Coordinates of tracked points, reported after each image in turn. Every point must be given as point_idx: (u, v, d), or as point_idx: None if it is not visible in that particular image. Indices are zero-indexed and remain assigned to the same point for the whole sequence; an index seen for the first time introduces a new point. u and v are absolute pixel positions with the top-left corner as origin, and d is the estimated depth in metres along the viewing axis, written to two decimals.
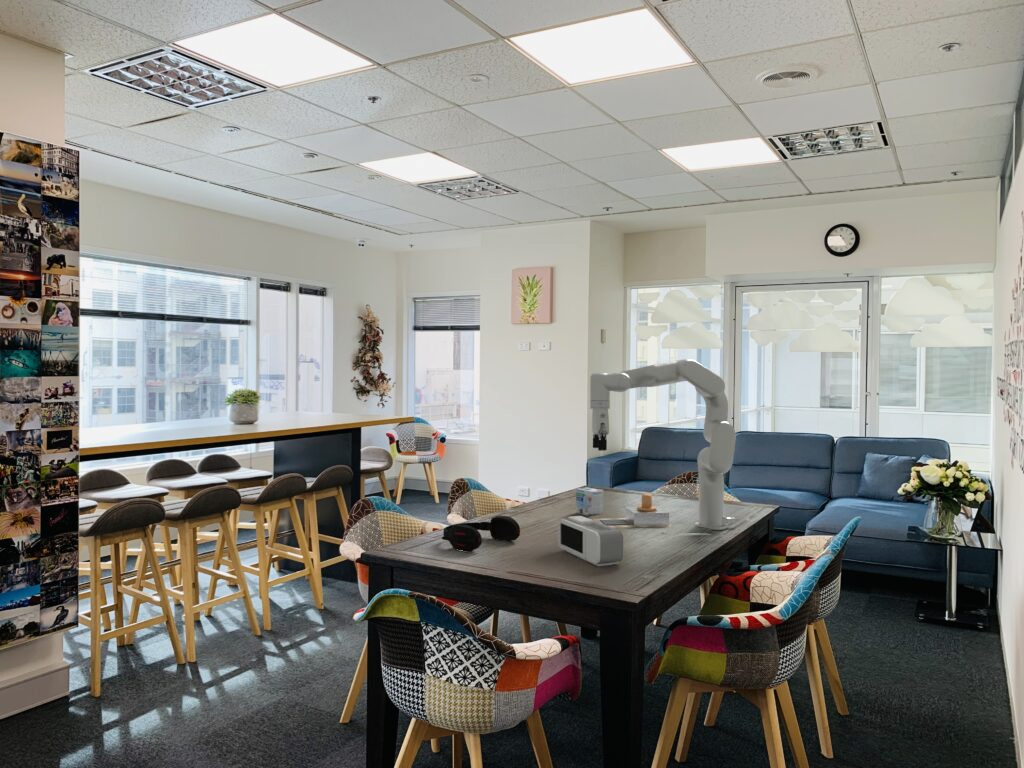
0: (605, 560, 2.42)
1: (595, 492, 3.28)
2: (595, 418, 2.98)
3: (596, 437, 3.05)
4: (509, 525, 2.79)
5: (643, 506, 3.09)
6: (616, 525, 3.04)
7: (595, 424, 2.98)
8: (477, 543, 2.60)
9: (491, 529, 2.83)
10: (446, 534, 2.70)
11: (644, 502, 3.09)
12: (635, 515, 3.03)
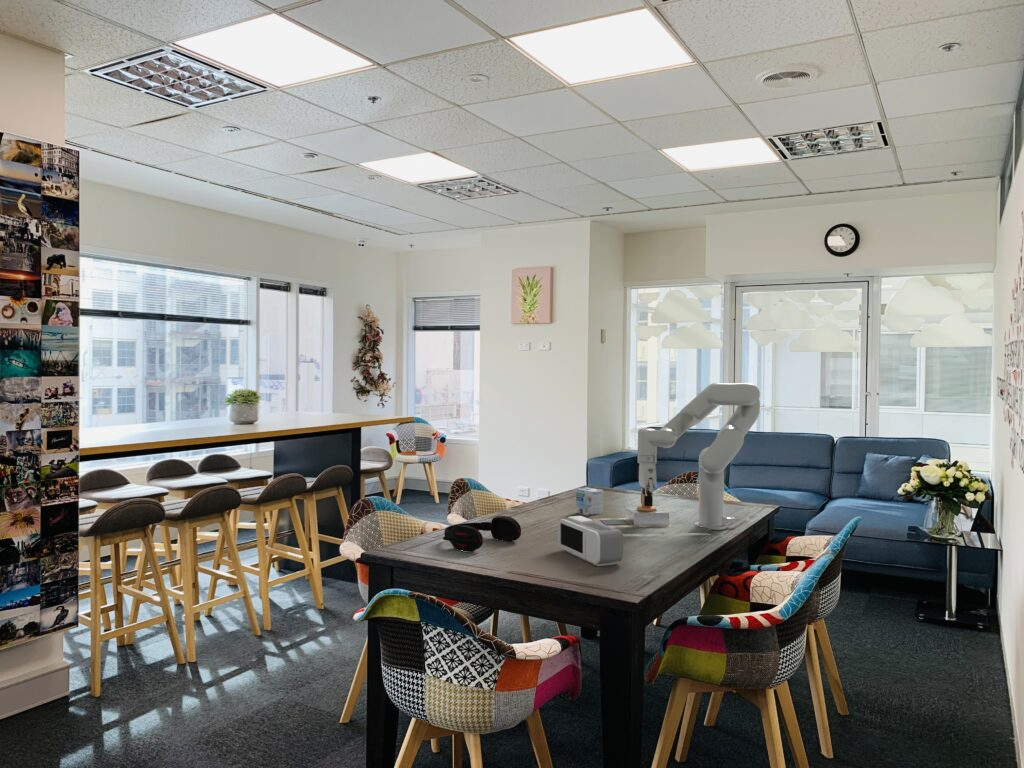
0: (605, 560, 2.43)
1: (595, 492, 3.28)
2: (643, 472, 3.07)
3: (644, 493, 3.12)
4: (510, 525, 2.79)
5: (643, 506, 3.09)
6: (616, 525, 3.04)
7: (643, 478, 3.07)
8: (478, 543, 2.60)
9: (492, 529, 2.83)
10: (447, 534, 2.69)
11: None
12: (635, 515, 3.03)
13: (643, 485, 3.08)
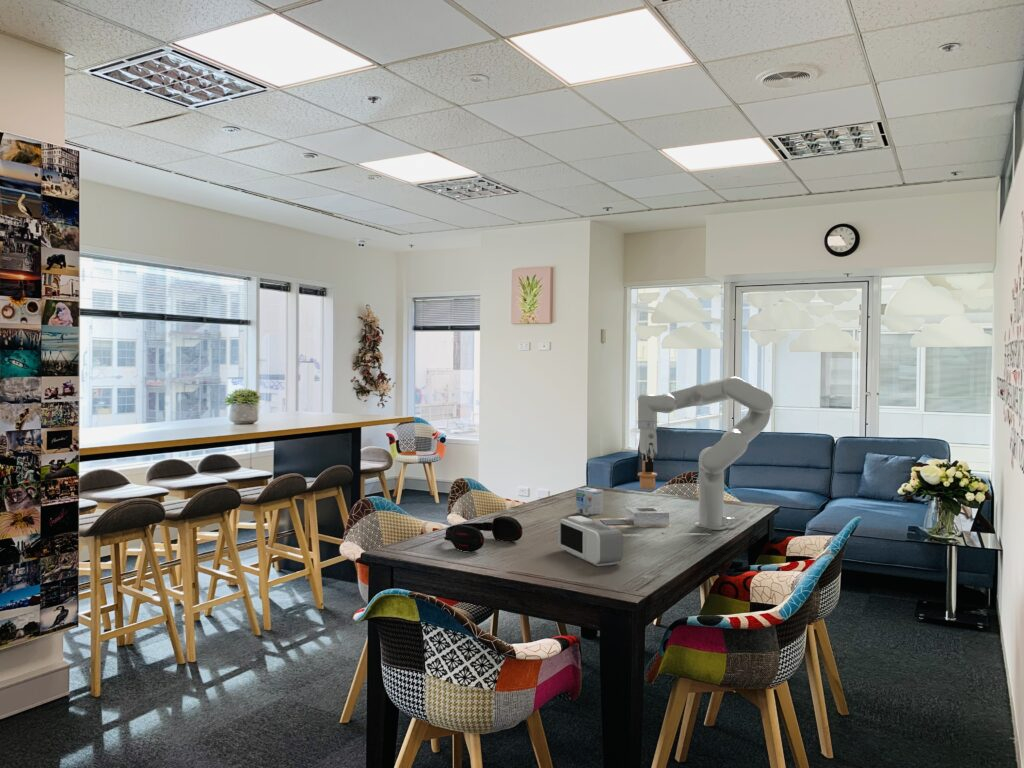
0: (605, 560, 2.43)
1: (595, 492, 3.28)
2: (643, 438, 3.07)
3: None
4: (511, 525, 2.78)
5: (644, 472, 3.09)
6: (616, 525, 3.04)
7: (643, 444, 3.07)
8: (479, 543, 2.60)
9: (494, 529, 2.83)
10: (448, 534, 2.69)
11: None
12: (635, 515, 3.03)
13: (644, 451, 3.07)
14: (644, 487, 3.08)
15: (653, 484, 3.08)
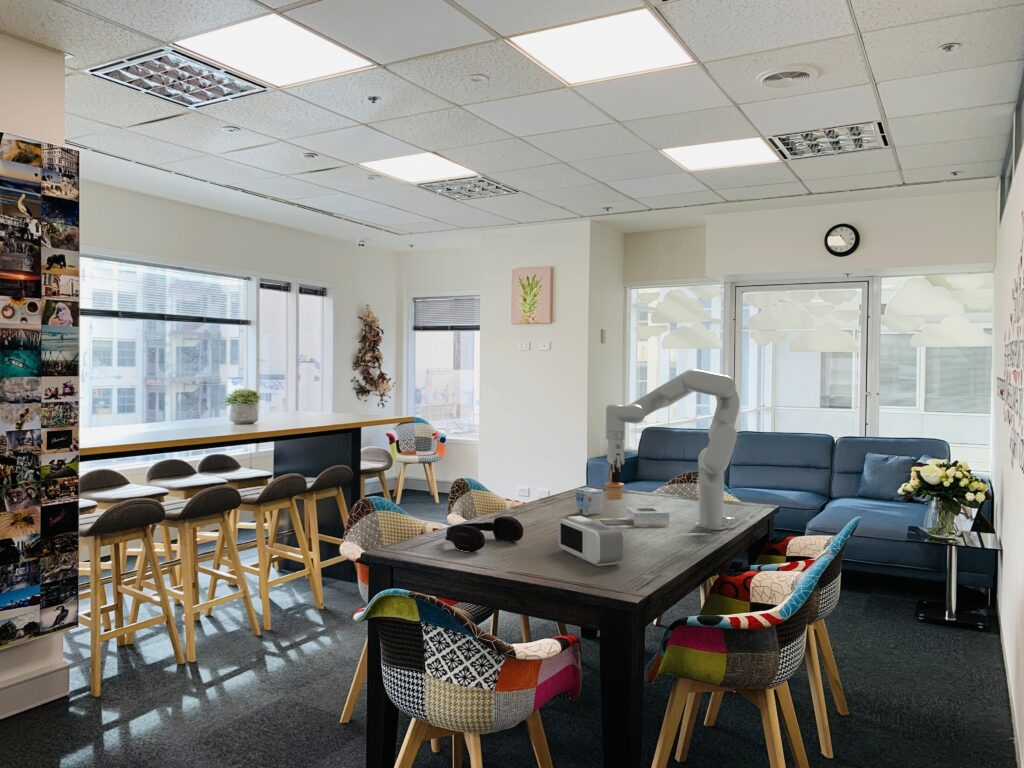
0: (605, 560, 2.43)
1: (595, 492, 3.28)
2: (611, 448, 3.06)
3: None
4: (512, 526, 2.78)
5: (611, 482, 3.08)
6: (616, 525, 3.04)
7: (610, 454, 3.06)
8: (480, 544, 2.59)
9: (494, 529, 2.82)
10: (449, 535, 2.69)
11: None
12: (635, 515, 3.03)
13: (611, 461, 3.06)
14: (611, 497, 3.07)
15: (620, 494, 3.07)
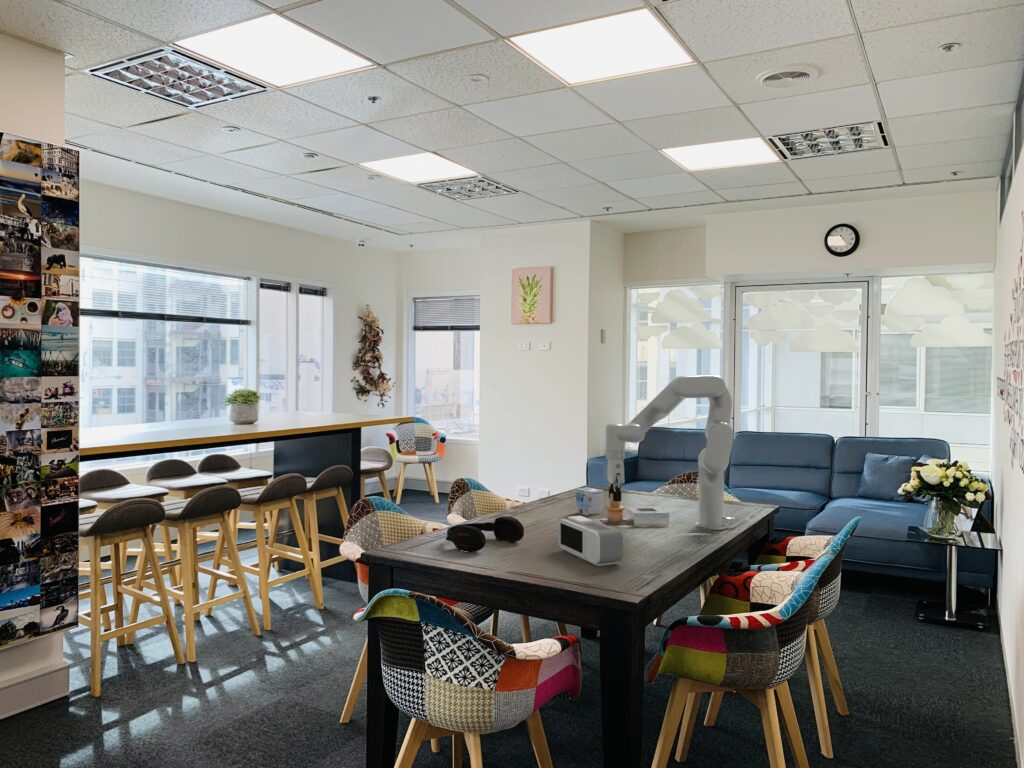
0: (605, 560, 2.43)
1: (595, 492, 3.28)
2: (611, 468, 3.06)
3: (612, 488, 3.12)
4: (513, 526, 2.78)
5: (611, 505, 3.08)
6: (616, 525, 3.04)
7: (611, 474, 3.06)
8: (481, 544, 2.59)
9: (495, 529, 2.82)
10: (450, 535, 2.69)
11: (612, 501, 3.08)
12: (635, 515, 3.03)
13: (611, 481, 3.06)
14: (611, 521, 3.07)
15: (620, 518, 3.07)
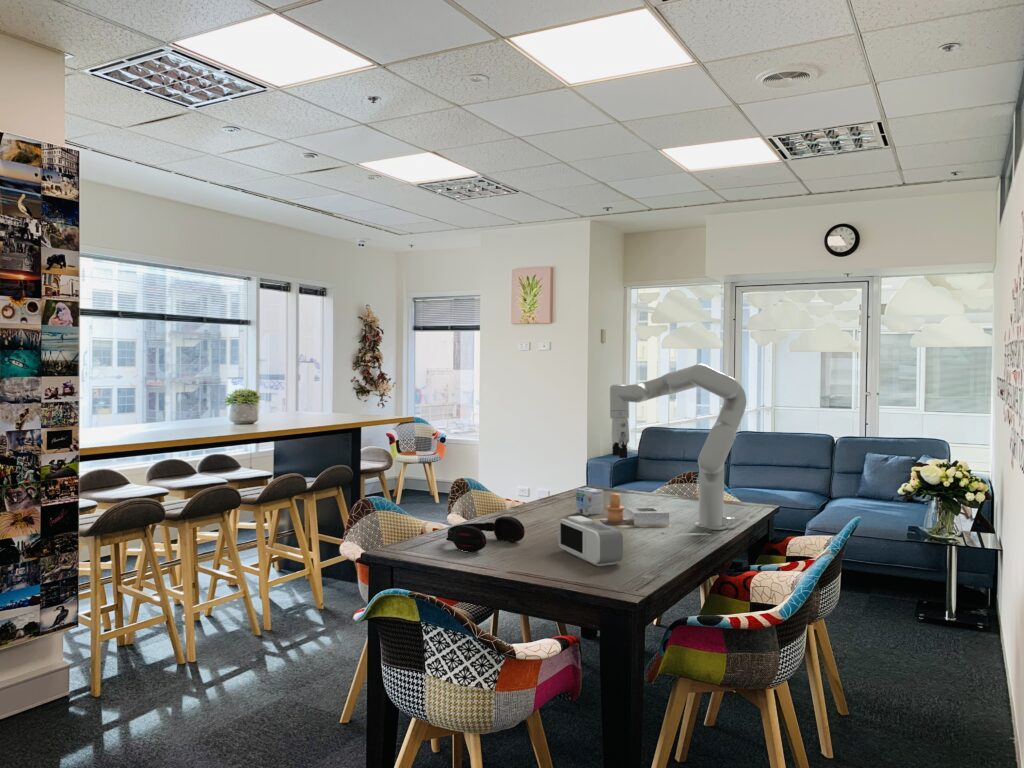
0: (605, 560, 2.43)
1: (595, 492, 3.28)
2: (615, 427, 3.13)
3: (615, 445, 3.21)
4: (513, 526, 2.78)
5: (611, 505, 3.08)
6: (616, 525, 3.04)
7: (616, 433, 3.13)
8: (481, 544, 2.59)
9: (496, 529, 2.82)
10: (450, 535, 2.68)
11: (612, 501, 3.08)
12: (635, 515, 3.03)
13: (616, 440, 3.13)
14: (611, 521, 3.07)
15: (620, 518, 3.07)
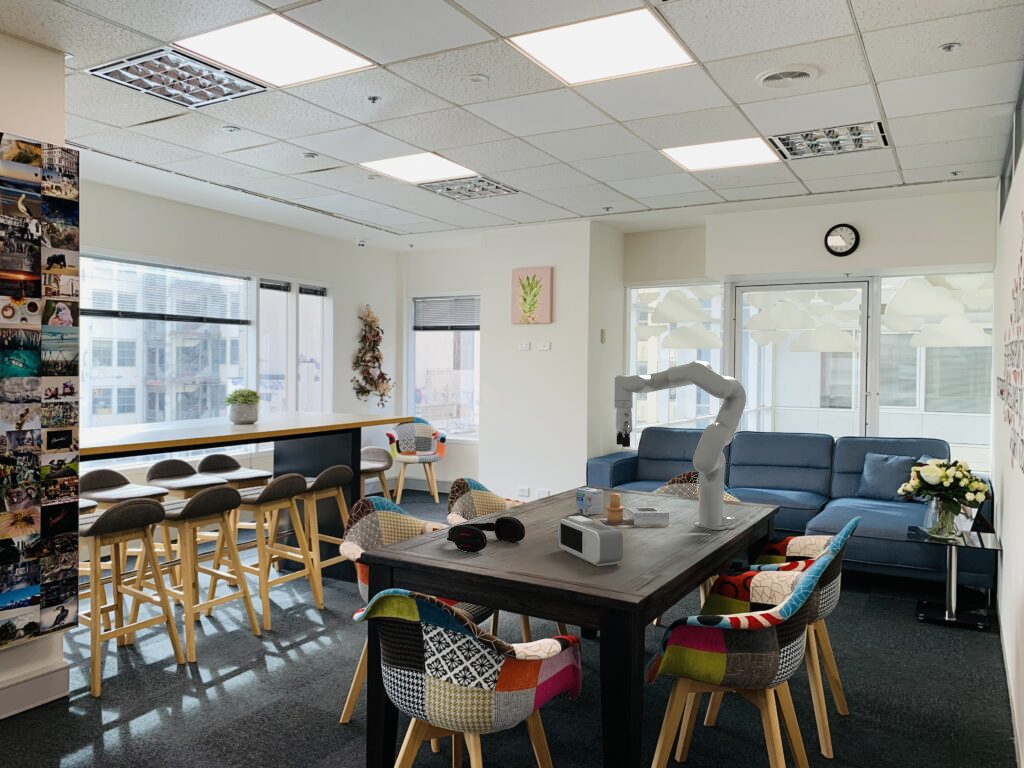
0: (605, 560, 2.43)
1: (595, 492, 3.28)
2: (619, 417, 3.21)
3: (620, 434, 3.29)
4: (514, 526, 2.78)
5: (611, 505, 3.08)
6: (616, 525, 3.04)
7: (619, 422, 3.21)
8: (482, 544, 2.59)
9: (496, 529, 2.82)
10: (451, 535, 2.68)
11: (612, 501, 3.08)
12: (635, 515, 3.03)
13: (619, 429, 3.22)
14: (611, 521, 3.07)
15: (620, 518, 3.07)
